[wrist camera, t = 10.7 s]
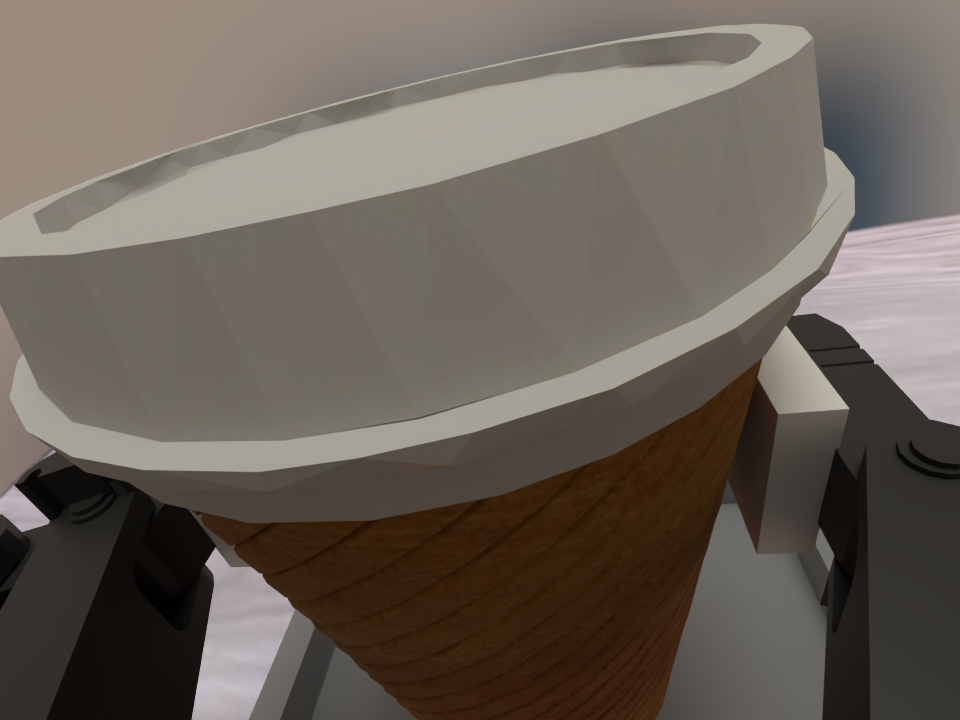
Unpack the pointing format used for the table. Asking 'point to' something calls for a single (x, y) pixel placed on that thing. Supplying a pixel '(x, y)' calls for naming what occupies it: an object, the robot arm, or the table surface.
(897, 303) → the table surface
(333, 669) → the serving tray
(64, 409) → the disposable coffee cup
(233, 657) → the table surface
